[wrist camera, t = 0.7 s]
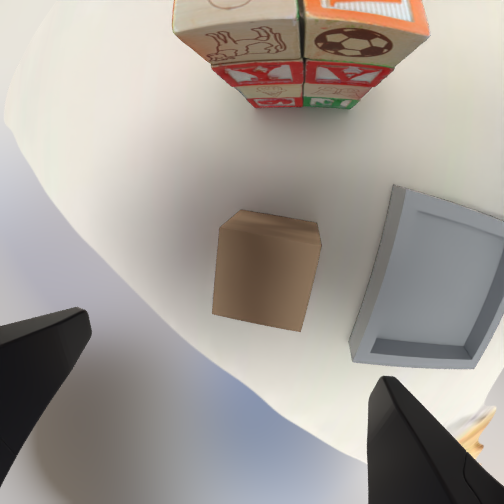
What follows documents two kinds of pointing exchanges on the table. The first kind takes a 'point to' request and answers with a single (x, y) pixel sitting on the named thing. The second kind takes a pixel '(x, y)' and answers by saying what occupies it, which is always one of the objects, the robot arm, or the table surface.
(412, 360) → the grey tray
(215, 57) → the stack of blocks
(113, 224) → the table surface
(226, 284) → the walnut cube
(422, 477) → the robot arm
